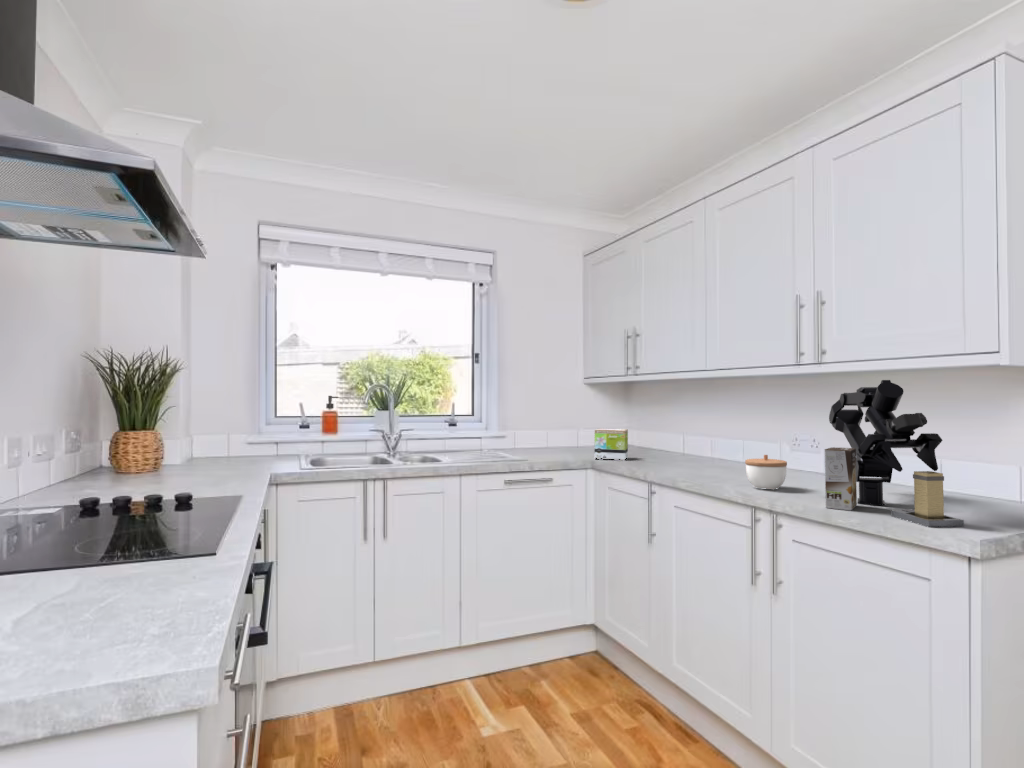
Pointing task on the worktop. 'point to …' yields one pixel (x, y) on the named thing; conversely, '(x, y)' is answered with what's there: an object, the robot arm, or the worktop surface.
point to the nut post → (928, 494)
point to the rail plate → (911, 516)
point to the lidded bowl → (766, 472)
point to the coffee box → (840, 478)
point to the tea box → (611, 443)
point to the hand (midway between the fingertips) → (918, 470)
